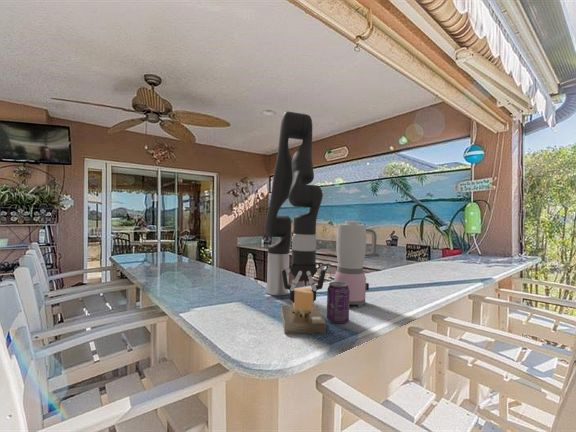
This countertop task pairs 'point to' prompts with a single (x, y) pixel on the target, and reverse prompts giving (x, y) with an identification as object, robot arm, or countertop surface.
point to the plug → (303, 300)
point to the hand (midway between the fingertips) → (302, 302)
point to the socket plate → (302, 321)
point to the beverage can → (338, 302)
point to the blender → (353, 258)
